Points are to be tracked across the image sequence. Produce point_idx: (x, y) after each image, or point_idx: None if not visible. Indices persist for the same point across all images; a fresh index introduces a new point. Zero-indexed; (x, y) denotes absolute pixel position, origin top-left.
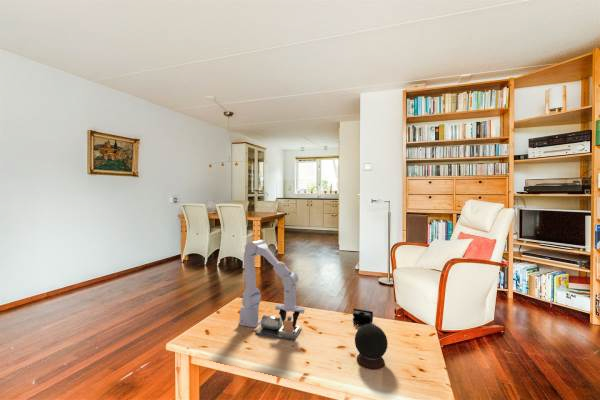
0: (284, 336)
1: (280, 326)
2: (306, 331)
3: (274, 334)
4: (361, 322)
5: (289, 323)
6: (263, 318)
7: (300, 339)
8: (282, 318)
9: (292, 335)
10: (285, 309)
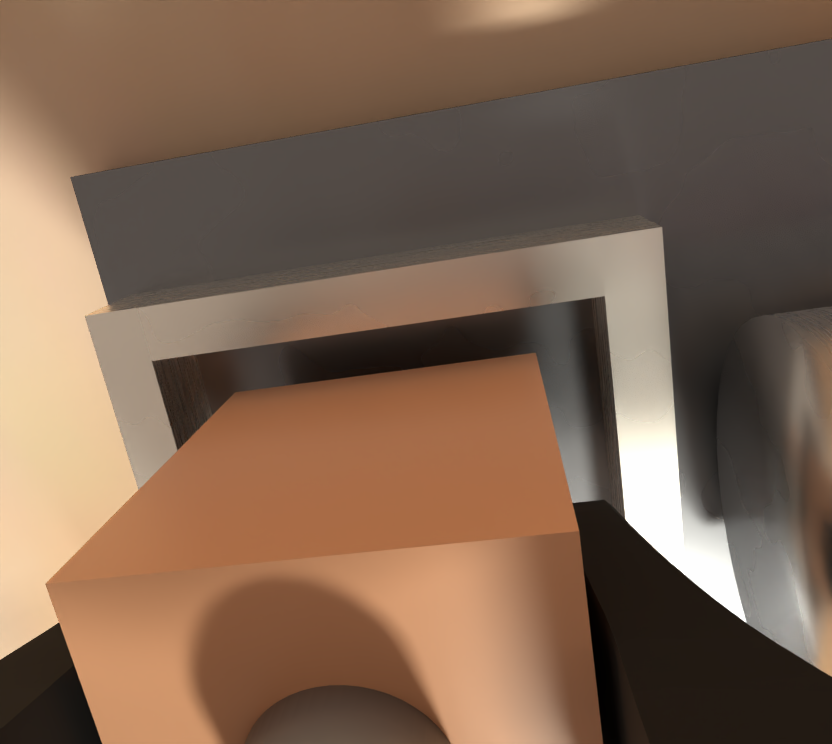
0: (397, 158)
1: (748, 542)
2: None
3: (762, 118)
4: None
5: (239, 505)
6: None
7: (21, 319)
8: (717, 653)
9: (188, 288)
10: None
